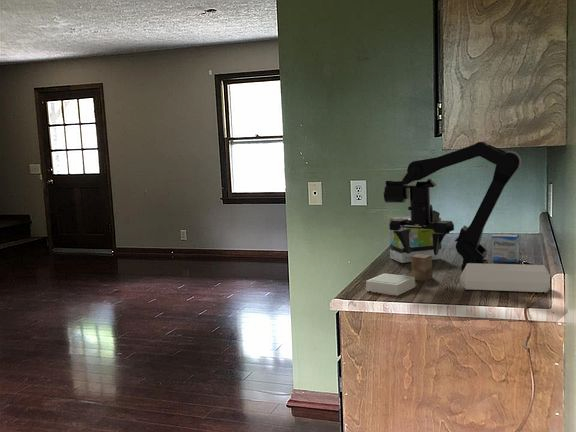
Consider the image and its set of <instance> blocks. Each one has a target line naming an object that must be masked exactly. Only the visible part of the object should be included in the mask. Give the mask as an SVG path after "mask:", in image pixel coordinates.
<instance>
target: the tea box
mask: <svg viewBox="0 0 576 432" xmlns="http://www.w3.org/2000/svg"><path fill="white" fill-rule="evenodd" d="M395 219H408V220H411V215H408V216H396V217H390V218H389V223H390V222H391V221H392V220H395ZM439 221H442V218H441V217H439ZM431 223H435V222H431ZM415 225H419V224H415ZM407 229H410V233H409V244H410V252H409V253H407V252H406V250H405V248H404V247H403V245H402V243H401V241H400V239H399V238H398V236H397V235H396V233H393V231H394V230H389V253H390V254H389V257H390V259H392V260H394V261H396V262H399V263H401V264H405V263H411V257H412V256H414V255H417V254H425V255H432V261H433V260H441V259H442V244H441V245H440V248H439V251H438V254H437V255H434V250H433V237H432V234H433V233H435V232H434V231H433V229H418V228H407Z"/></svg>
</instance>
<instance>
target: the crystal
mask: <svg viewBox="0 0 576 432" xmlns="http://www.w3.org/2000/svg"><path fill="white" fill-rule="evenodd" d="M550 276H551V274H550V272H549V271H548V269H547V268H546V266H545V265H544V264H517V263H516V264H515V263H511V264H510V263H488V264H478V263H467V265H466V267H465V268H464V270H463V272H462V274H460V276H459V282H460V283H461V285H462V287H463V288H464V290H466V291H467V290H469V291H472V290H473V291H495V292H500V291H501V292H518V293H519V292H520V293H521V292H522V293H524V292H525V293H543V292H544V293H548V292H549V291H550V289H551V288H550ZM549 288H550V289H549ZM548 290H549V291H548ZM547 291H548V292H547Z"/></svg>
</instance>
